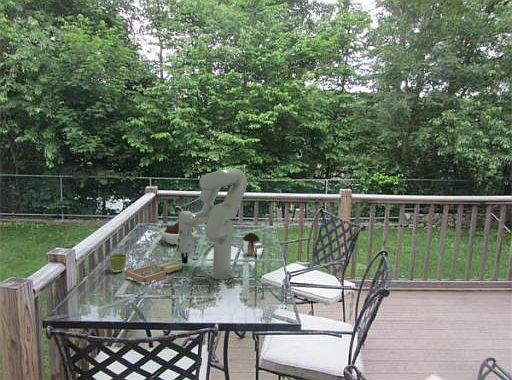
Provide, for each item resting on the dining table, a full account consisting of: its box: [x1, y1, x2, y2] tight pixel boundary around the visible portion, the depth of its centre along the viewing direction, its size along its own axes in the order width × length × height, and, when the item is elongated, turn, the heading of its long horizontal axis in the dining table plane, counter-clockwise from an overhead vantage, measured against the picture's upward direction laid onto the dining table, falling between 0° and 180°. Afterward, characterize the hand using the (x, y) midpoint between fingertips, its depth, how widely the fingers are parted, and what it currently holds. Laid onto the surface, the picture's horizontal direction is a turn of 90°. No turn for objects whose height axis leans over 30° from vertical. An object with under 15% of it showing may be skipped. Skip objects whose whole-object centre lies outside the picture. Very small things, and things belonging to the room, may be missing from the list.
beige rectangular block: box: [157, 261, 184, 275], centre depth 230 cm, size 8×11×4 cm
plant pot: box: [108, 253, 128, 270], centre depth 225 cm, size 9×9×9 cm
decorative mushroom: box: [242, 232, 260, 256], centre depth 265 cm, size 11×11×15 cm
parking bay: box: [125, 264, 167, 282], centre depth 216 cm, size 14×14×4 cm
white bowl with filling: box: [159, 221, 198, 246], centre depth 287 cm, size 25×25×15 cm
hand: (184, 263), depth 238 cm, fingers closed
